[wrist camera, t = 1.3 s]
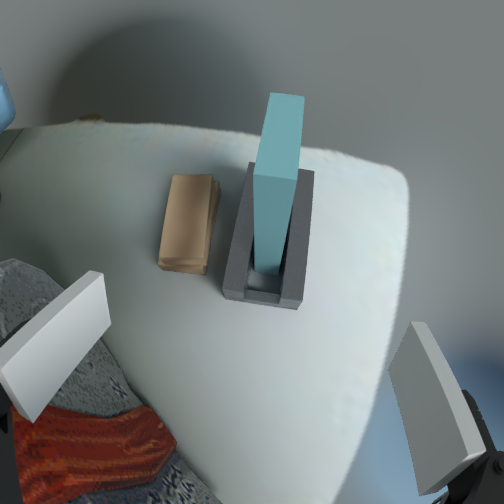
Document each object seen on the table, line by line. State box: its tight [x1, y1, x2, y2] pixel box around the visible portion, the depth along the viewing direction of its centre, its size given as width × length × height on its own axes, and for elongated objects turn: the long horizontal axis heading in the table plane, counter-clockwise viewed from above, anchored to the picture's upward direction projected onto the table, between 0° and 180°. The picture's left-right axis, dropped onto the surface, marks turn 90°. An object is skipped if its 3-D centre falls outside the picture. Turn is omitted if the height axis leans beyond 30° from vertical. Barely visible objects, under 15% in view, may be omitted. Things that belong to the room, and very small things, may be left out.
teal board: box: [253, 93, 305, 275], centre depth 26 cm, size 2×8×17 cm, turn 171°
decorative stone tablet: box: [0, 259, 223, 504], centre depth 18 cm, size 19×6×30 cm
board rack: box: [222, 162, 314, 310], centre depth 32 cm, size 8×15×4 cm, turn 171°
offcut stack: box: [158, 174, 221, 275], centre depth 32 cm, size 6×11×4 cm, turn 174°
